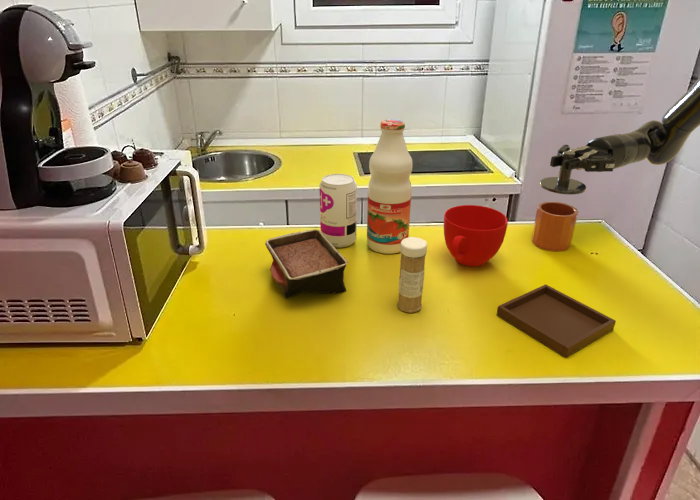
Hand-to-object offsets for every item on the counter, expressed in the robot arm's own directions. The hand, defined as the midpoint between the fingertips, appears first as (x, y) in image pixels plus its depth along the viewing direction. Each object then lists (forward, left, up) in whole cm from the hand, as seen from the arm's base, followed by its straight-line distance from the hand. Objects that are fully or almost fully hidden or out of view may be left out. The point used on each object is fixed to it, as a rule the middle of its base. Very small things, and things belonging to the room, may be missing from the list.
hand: (558, 163), depth 109 cm
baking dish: (+16, +52, -20) cm, 58 cm away
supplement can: (+28, +37, -20) cm, 50 cm away
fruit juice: (+20, +29, -20) cm, 40 cm away
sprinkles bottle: (-2, +41, -20) cm, 45 cm away
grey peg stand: (0, -3, -6) cm, 6 cm away
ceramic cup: (+4, +20, -20) cm, 28 cm away
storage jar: (0, -3, -19) cm, 20 cm away
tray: (-20, +23, -19) cm, 36 cm away
